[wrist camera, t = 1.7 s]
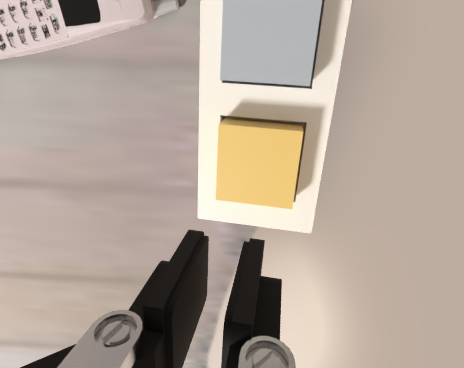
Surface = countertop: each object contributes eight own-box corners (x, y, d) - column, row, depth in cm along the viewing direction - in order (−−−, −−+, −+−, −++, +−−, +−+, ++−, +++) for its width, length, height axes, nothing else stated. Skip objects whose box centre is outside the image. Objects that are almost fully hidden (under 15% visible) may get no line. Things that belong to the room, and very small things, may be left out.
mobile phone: (-170, 0, 23) (124, -110, 17) (-82, 11, 28) (164, -70, 22) (-123, 83, 25) (154, 9, 19) (-50, 78, 30) (183, 20, 25)
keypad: (216, -233, 19) (204, -284, 16) (387, -247, 17) (405, -305, 15) (206, 204, 30) (197, 218, 27) (309, 217, 29) (311, 233, 26)
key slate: (231, -15, 21) (223, -25, 18) (321, -13, 20) (325, -23, 18) (226, 78, 23) (220, 80, 21) (307, 83, 22) (309, 86, 20)
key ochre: (225, 118, 24) (218, 124, 22) (302, 124, 23) (303, 131, 21) (221, 188, 26) (215, 199, 24) (292, 196, 26) (292, 209, 23)
